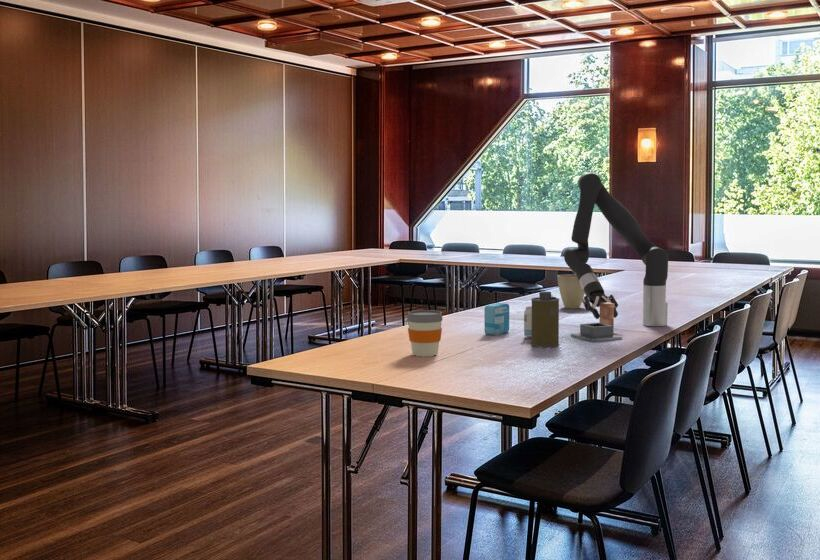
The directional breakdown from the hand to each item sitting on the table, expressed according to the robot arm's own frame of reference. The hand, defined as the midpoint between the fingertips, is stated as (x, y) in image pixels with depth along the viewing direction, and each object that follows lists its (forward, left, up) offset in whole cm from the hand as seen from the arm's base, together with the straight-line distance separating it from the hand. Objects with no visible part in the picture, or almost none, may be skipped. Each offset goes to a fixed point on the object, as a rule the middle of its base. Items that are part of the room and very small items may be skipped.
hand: (607, 317), depth 338 cm
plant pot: (-29, -71, -6) cm, 77 cm away
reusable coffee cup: (+85, +11, -7) cm, 86 cm away
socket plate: (+11, +8, -6) cm, 15 cm away
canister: (+37, +13, -6) cm, 40 cm away
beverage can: (+33, -3, -7) cm, 34 cm away
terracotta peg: (0, -1, -6) cm, 6 cm away
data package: (+41, -18, -7) cm, 45 cm away
